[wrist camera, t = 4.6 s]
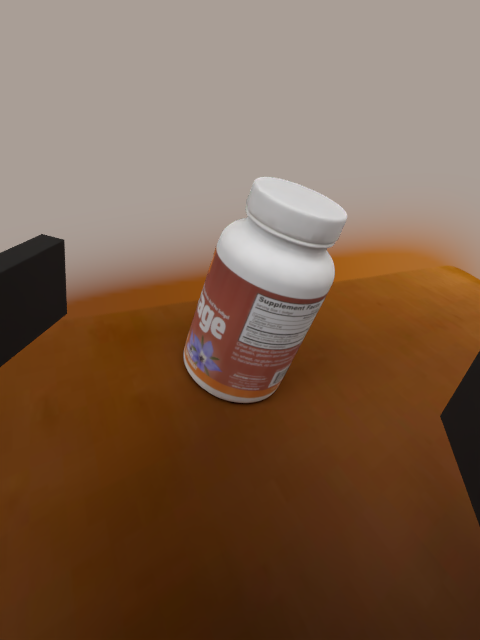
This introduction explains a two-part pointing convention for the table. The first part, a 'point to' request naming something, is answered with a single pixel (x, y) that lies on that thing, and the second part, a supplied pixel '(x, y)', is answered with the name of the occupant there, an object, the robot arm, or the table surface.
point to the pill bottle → (263, 290)
